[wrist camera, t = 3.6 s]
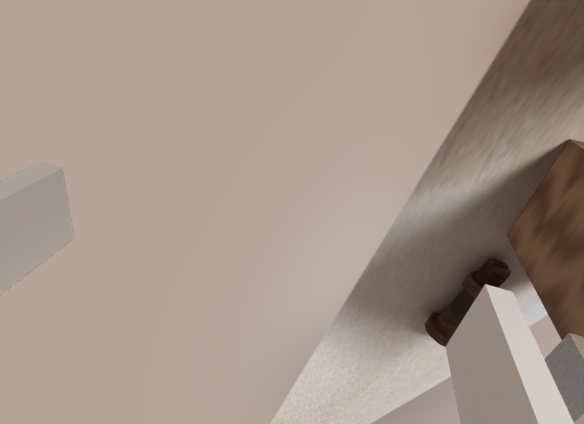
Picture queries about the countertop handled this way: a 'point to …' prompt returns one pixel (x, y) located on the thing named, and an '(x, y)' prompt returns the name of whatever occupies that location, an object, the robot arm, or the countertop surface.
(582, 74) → the countertop surface
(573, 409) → the steel block
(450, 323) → the bolt
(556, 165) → the wooden block
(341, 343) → the countertop surface
